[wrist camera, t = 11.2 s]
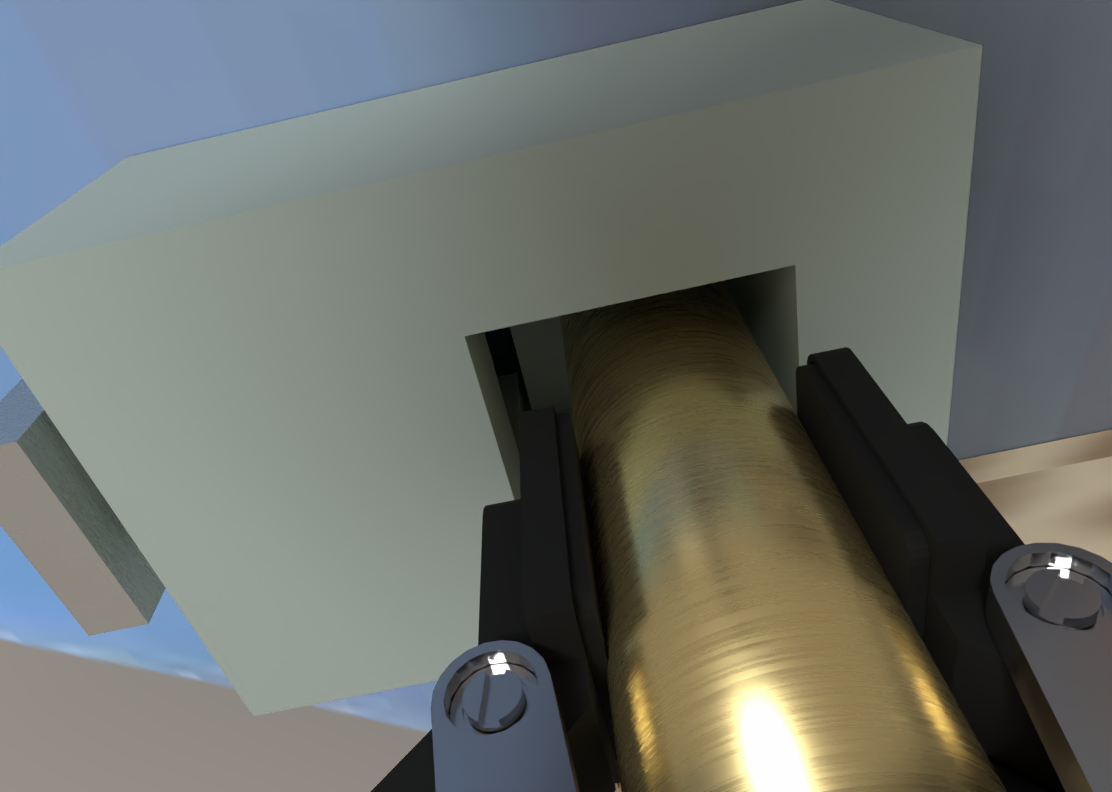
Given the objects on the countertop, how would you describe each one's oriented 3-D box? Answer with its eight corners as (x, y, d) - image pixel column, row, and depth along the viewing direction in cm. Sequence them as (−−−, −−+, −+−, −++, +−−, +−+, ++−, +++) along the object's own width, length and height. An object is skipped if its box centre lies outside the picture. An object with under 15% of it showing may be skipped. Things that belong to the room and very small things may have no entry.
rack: (1190, 413, 21) (1578, 697, 14) (1138, 589, 25) (1419, 889, 17) (545, 543, 22) (574, 878, 15) (589, 694, 26) (630, 1022, 18)
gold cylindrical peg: (711, 209, 15) (1206, 971, 5) (725, 354, 17) (1099, 1143, 6) (544, 245, 16) (632, 1052, 5) (574, 384, 18) (691, 1197, 7)
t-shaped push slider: (454, 227, 17) (440, 350, 12) (503, 396, 19) (507, 551, 14) (91, 308, 17) (-55, 456, 13) (182, 463, 19) (88, 635, 15)
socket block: (816, -4, 15) (982, 44, 10) (824, 414, 20) (934, 584, 15) (126, 156, 16) (-46, 278, 11) (310, 520, 21) (253, 716, 16)
